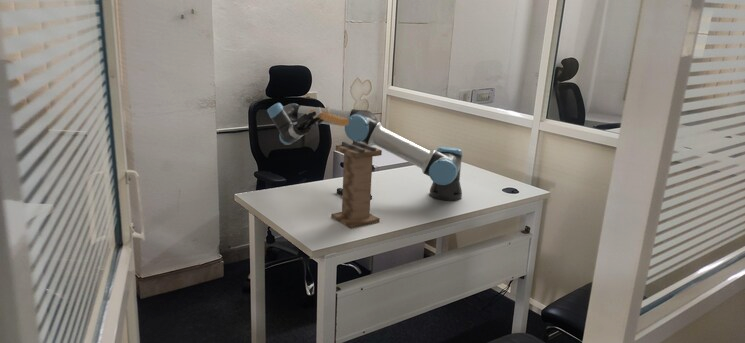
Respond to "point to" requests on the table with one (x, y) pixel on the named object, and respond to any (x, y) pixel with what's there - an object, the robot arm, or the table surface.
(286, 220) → the table surface
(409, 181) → the table surface
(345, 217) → the stand
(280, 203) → the table surface
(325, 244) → the table surface
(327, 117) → the wood grain block
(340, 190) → the disk drive
